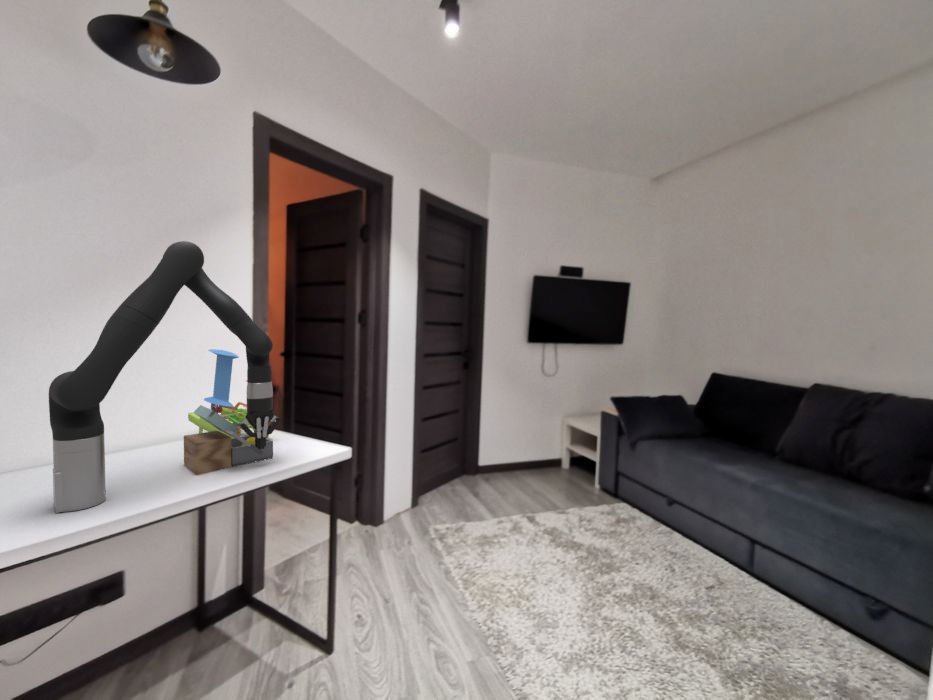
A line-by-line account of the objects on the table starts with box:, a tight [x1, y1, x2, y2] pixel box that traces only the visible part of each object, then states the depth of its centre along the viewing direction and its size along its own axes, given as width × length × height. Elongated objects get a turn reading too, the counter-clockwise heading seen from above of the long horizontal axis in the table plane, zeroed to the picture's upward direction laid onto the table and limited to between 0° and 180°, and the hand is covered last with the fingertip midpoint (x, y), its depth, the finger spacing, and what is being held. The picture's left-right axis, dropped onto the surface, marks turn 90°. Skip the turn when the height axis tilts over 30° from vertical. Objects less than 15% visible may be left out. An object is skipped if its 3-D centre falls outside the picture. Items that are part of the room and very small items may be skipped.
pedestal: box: [183, 431, 232, 476], centre depth 129 cm, size 10×13×10 cm
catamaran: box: [187, 348, 272, 439], centre depth 158 cm, size 18×32×35 cm, turn 67°
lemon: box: [242, 437, 255, 446], centre depth 139 cm, size 6×6×8 cm
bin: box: [231, 435, 274, 468], centre depth 138 cm, size 13×13×6 cm
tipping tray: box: [192, 405, 264, 455], centre depth 131 cm, size 19×18×3 cm
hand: (260, 448), depth 131 cm, fingers closed
